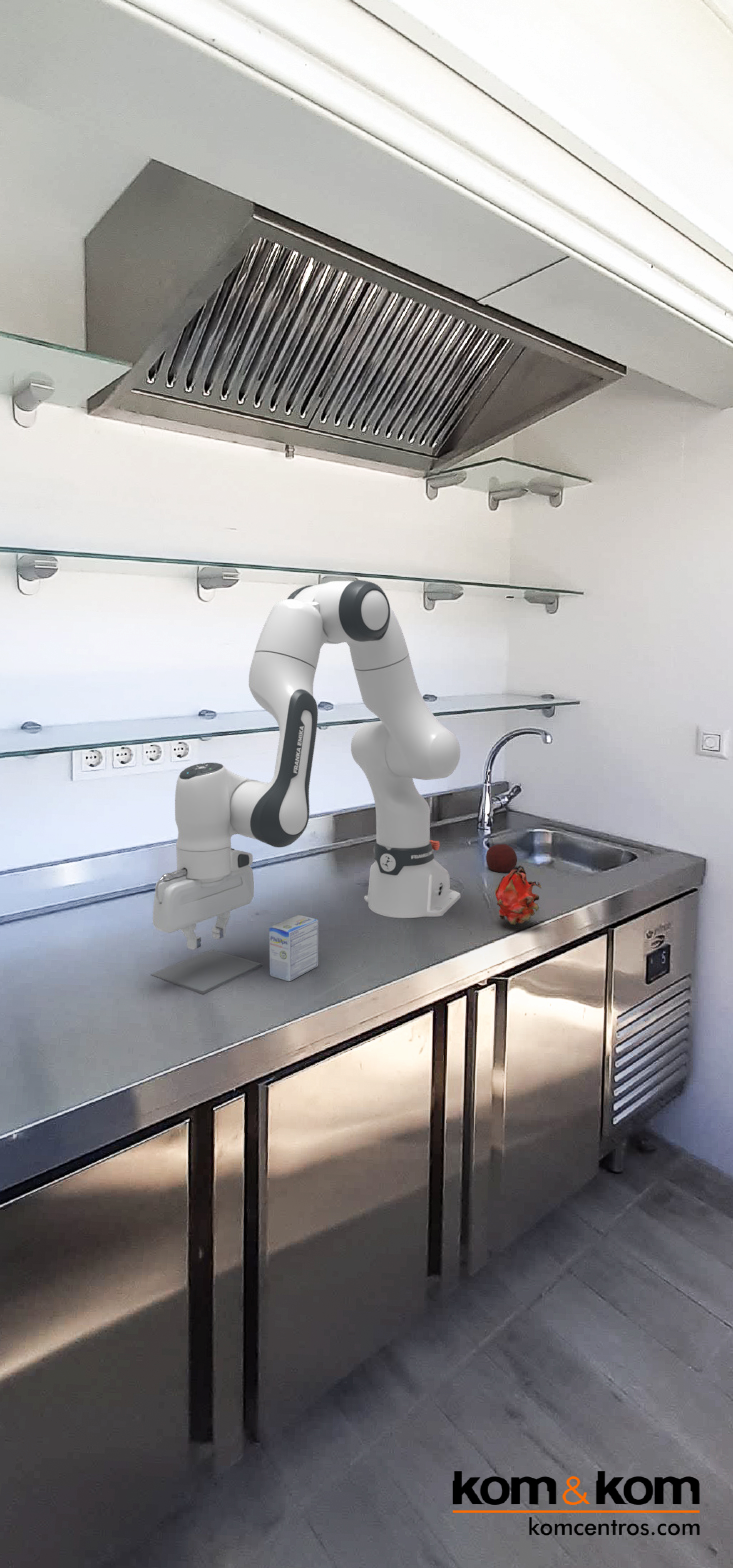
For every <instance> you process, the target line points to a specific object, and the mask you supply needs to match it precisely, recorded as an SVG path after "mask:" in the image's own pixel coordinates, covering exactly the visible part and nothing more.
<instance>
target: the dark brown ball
mask: <svg viewBox="0 0 733 1568" xmlns="http://www.w3.org/2000/svg"><path fill="white" fill-rule="evenodd" d="M485 862H486V865H487V867H488V868H489V870H491V871H492V872H496V873H510V872H511V871H512V870H513V869H514V868H516V866H517V863H518V856H517V854H516V851H515V850H514V848H513V847H511V846H510V845H508V844H505V843H498V844H495V845H492V846H490V847H489V848H488V849H487V851H486V854H485Z"/></svg>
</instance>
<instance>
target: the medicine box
mask: <svg viewBox="0 0 733 1568" xmlns="http://www.w3.org/2000/svg"><path fill="white" fill-rule="evenodd" d="M268 930H269V935H268V936H269V939H268V940H269V975H270V977H272V978H275V979H277V980H278V979H279V980H282V981H286V982H291V981H293V980H295V979H297V978H299V977H301V976H302V975H304V974H307V973H308V972H310V971H311V970H314V969H315V968H318V966H319V919H316V918H313V917H310V916H305V915H301V914H298V915H294V916H292V917H290V918H288V919H286V920H285V919H284V920H283V921H282V922H278V923H277V924H274V925H271V926H270V927H269V928H268Z"/></svg>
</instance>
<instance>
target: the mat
mask: <svg viewBox="0 0 733 1568" xmlns="http://www.w3.org/2000/svg"><path fill="white" fill-rule="evenodd" d="M262 966H263V963H261V962H257V961H253V960H250V959H247V958H243V957H241V956H237V955H232V954H229V953H225V952H222V951H218V950H215V949H211V950H207V951H204V952H202V953H201V952H200V953H198V954H197V955H195V956H191V957H190V958H187V959H183V960H182V961H180V962H177V963H175V964H173V965H170V966H168V967H165V968H163V969H160V970H159V971H158V970H157V971H156V972H153V973H150V976H152V977H154V978H157V979H160V980H163V981H165V982H168V983H170V984H174V985H177V986H178V987H182V988H184V989H187V990H190V991H192V992H195V993H199V994H201V995H205V994H207V993H209V992H211V991H213V990H216V989H217V988H219V987H222V986H224V985H226V984H228V983H231V982H232V981H234V980H236V979H239V978H240V977H243V976H245V975H246V974H248V973H250V972H252V971H254V970H256V969H259V968H261V967H262Z"/></svg>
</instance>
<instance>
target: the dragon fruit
mask: <svg viewBox="0 0 733 1568" xmlns="http://www.w3.org/2000/svg"><path fill="white" fill-rule="evenodd" d="M518 870H519V871H518ZM534 886H536V887H538V888H539V889H542V885H541V882H539V881H532V880H531V881H528V880H527V873H526V870H525V867H524V866H522V865H518V867H516V866H515V867H514V868H513V869H512V870H511V871H509V872H508V874H506V875H503V876H502V878H501V879H500V881H499V884H497V887H496V888H495V890H494V893H495V897H496V900H497V903H496V905H497V906H499V910H498V914H499V917H500V920H502V921H503V920H505V917H506V920H507V921H508V922H509V924H510V925H515V926H518V924H524V923H525V921H526V922H529V921H530V920H531V917H532V916H535V914H536V913H535V912H537V911H539V909H540V907H539V905H538V903H535V901H539V900H540V896H539V895H538V894H537V893H533V888H534Z"/></svg>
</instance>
